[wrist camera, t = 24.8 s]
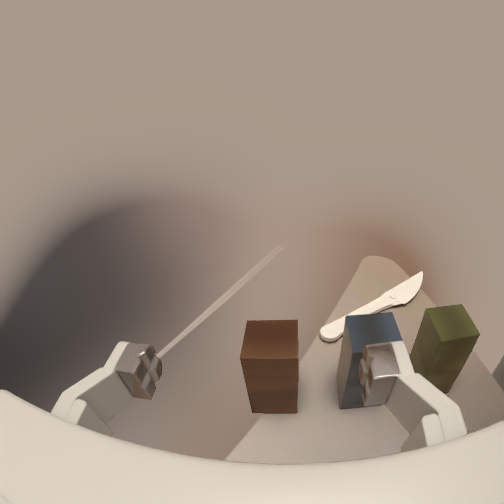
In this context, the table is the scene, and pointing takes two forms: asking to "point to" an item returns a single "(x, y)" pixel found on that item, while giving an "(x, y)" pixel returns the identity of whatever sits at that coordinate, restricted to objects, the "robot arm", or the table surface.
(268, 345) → the walnut block
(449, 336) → the olive block
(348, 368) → the slate block
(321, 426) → the table surface
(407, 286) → the knife
